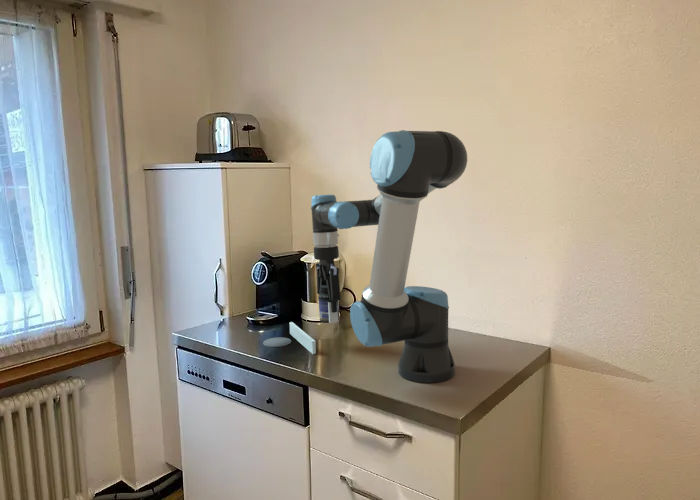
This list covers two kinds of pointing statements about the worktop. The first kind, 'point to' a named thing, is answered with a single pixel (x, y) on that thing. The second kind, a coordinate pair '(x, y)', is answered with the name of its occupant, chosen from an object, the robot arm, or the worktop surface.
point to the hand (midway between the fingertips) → (329, 319)
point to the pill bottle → (325, 305)
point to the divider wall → (303, 338)
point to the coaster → (277, 342)
